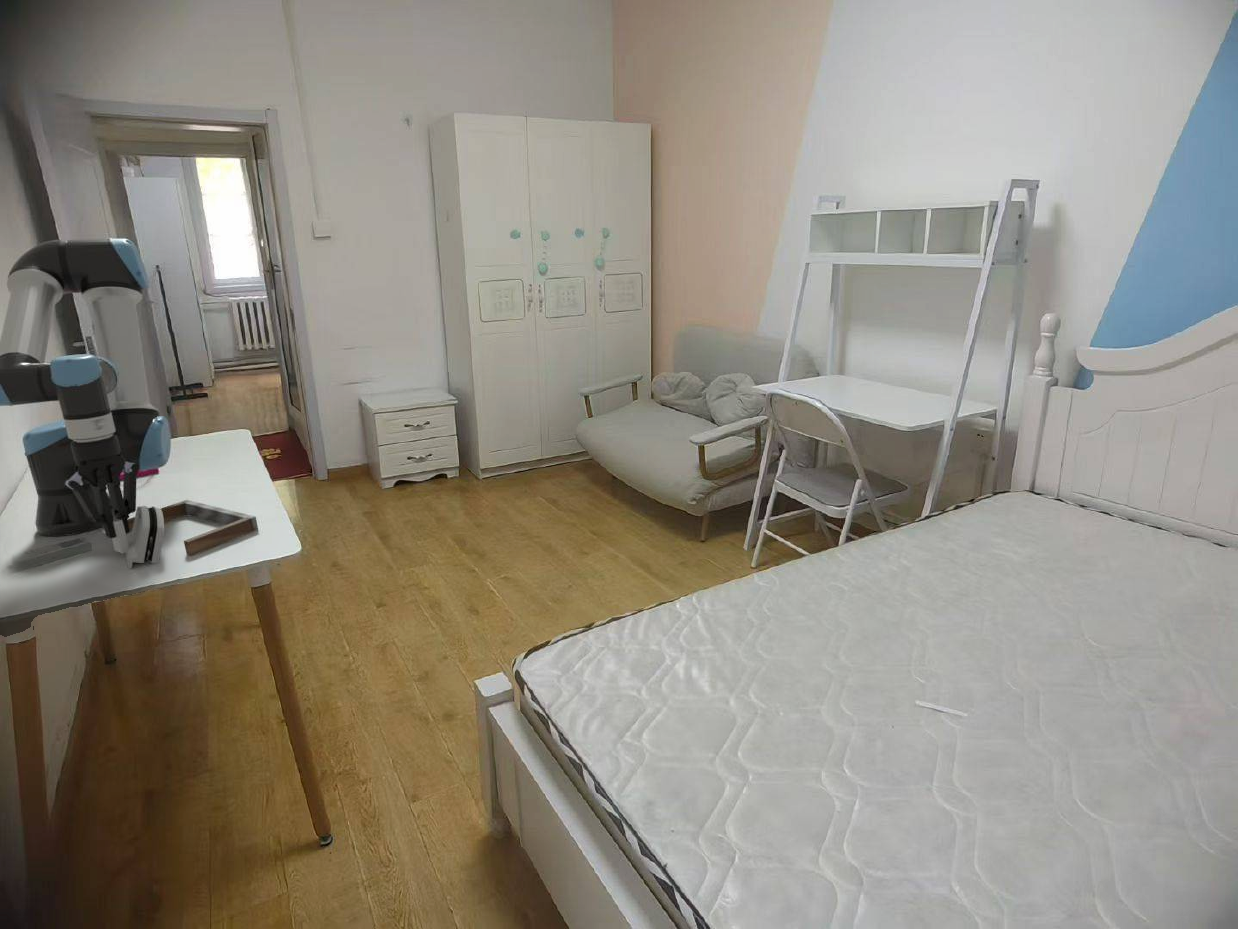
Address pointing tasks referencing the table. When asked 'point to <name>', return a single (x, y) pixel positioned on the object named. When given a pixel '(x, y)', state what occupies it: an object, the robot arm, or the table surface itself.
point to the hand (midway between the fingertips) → (122, 550)
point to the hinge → (145, 536)
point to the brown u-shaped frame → (232, 520)
